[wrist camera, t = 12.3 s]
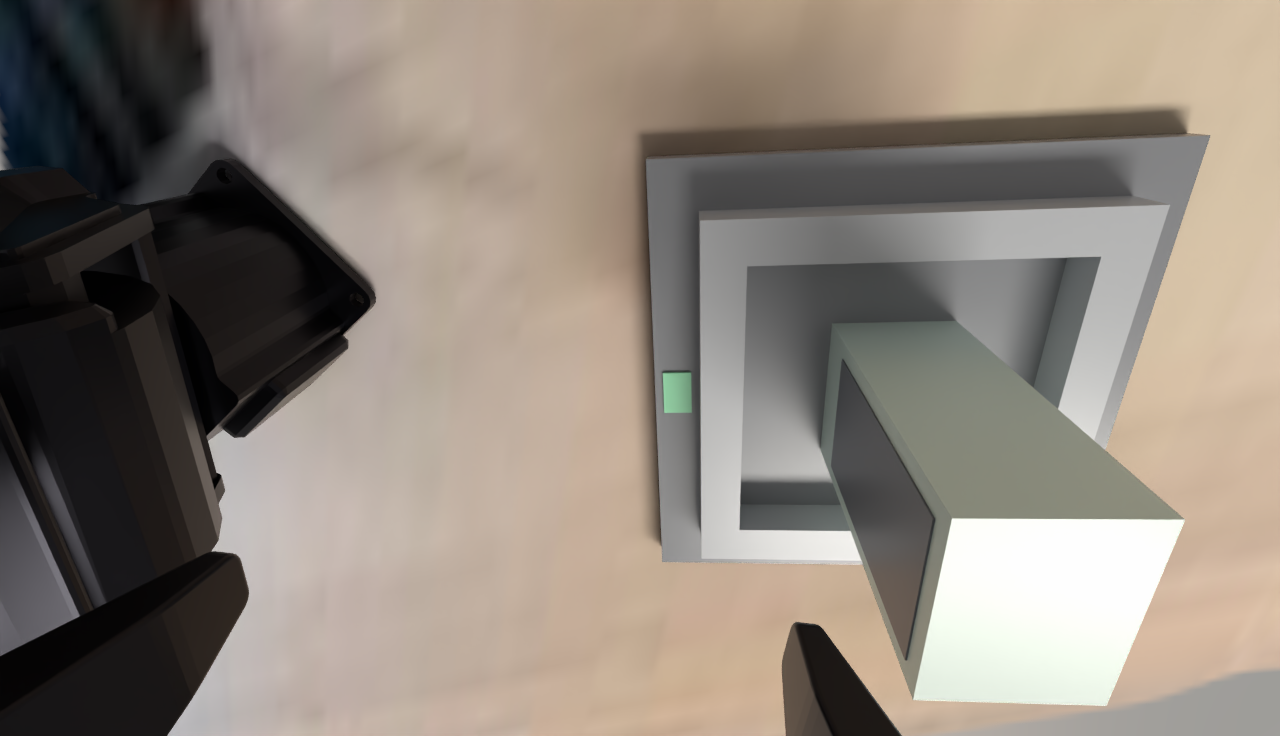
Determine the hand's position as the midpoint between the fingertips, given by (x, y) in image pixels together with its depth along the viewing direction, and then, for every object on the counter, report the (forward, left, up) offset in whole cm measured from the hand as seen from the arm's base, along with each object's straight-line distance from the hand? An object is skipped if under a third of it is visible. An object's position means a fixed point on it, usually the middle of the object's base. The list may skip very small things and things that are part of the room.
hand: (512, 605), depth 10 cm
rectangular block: (+8, +6, -12) cm, 16 cm away
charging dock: (+8, +6, -13) cm, 16 cm away
